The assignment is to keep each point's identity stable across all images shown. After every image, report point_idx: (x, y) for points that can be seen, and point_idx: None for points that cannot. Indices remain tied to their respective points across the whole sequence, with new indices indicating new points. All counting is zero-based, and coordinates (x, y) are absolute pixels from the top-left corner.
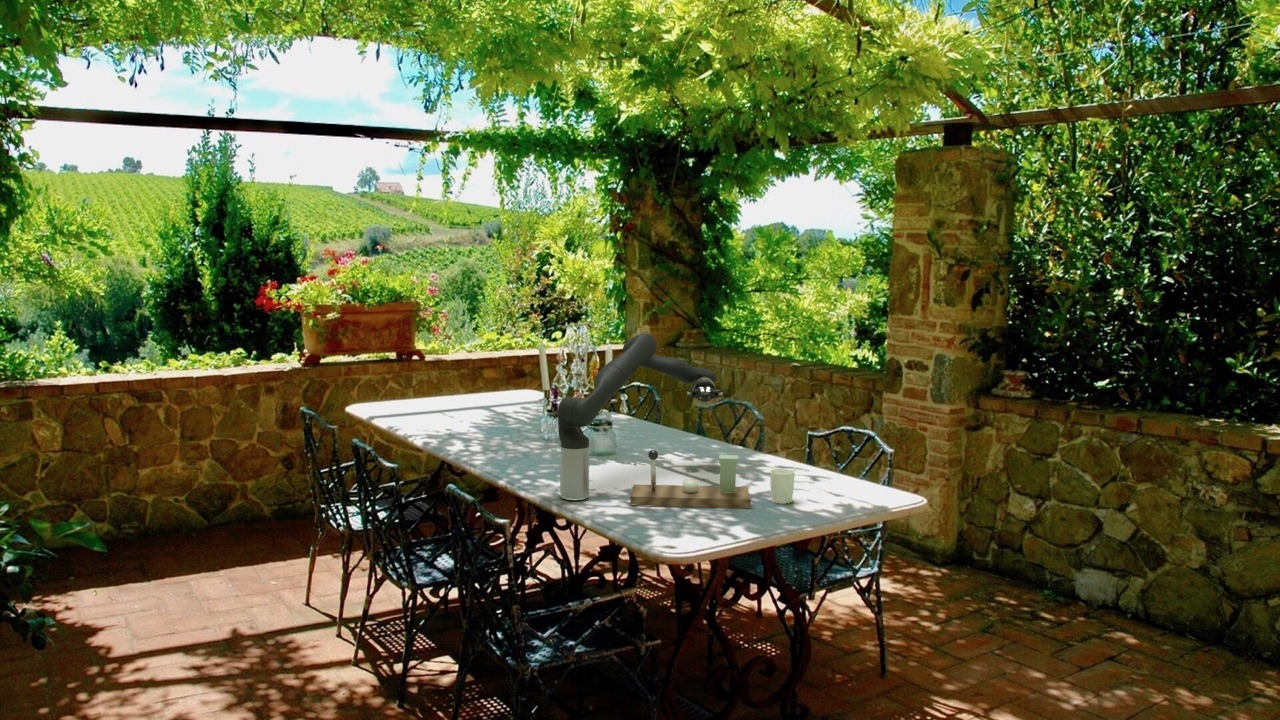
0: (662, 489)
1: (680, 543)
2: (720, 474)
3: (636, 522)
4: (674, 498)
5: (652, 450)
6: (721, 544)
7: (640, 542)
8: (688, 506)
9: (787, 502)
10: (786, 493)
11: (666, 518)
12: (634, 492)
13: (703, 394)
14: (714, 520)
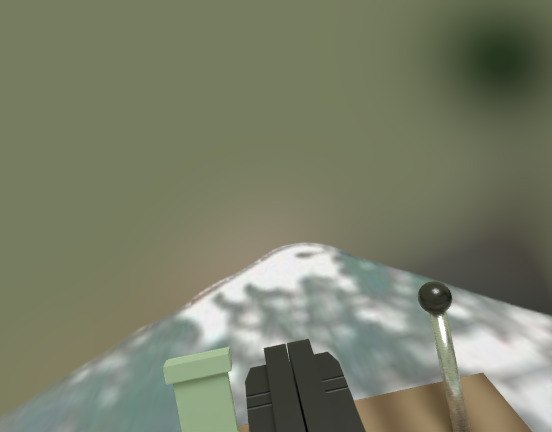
0: None
1: (293, 265)
2: (235, 416)
3: (395, 307)
4: (368, 399)
5: (434, 281)
6: (239, 276)
7: (346, 255)
8: None
9: None
10: None
11: (352, 339)
12: (504, 410)
13: (303, 342)
14: (256, 354)
